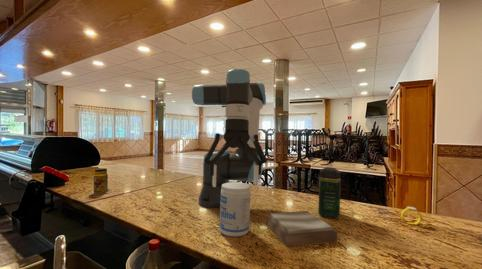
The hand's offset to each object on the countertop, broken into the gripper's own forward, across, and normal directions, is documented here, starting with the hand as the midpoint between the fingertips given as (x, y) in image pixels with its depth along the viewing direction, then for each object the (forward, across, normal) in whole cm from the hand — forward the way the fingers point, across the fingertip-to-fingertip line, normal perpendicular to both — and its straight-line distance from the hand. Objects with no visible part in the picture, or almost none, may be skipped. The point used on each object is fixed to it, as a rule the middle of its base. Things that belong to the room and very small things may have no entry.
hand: (235, 185), depth 70 cm
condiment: (+14, -57, +58) cm, 83 cm away
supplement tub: (+15, 0, 0) cm, 15 cm away
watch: (+15, +64, -6) cm, 66 cm away
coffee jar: (+14, +40, +8) cm, 43 cm away
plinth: (+15, +20, -4) cm, 25 cm away
